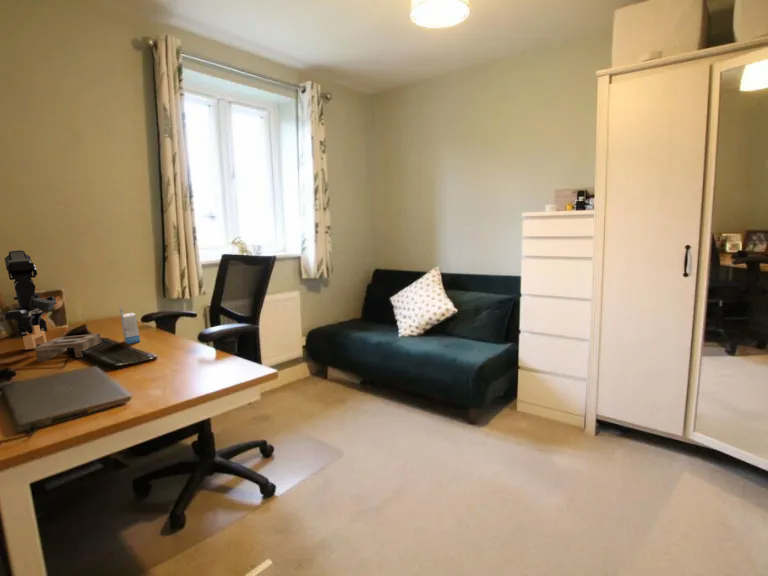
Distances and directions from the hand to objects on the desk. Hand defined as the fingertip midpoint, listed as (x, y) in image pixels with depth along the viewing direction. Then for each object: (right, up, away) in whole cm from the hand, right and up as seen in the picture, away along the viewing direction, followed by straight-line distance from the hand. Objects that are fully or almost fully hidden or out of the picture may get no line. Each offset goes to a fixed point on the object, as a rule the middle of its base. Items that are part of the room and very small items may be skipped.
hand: (33, 332), depth 163 cm
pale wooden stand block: (0, -5, +1) cm, 6 cm away
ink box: (+29, -6, +15) cm, 34 cm away
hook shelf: (+14, -9, +2) cm, 16 cm away
